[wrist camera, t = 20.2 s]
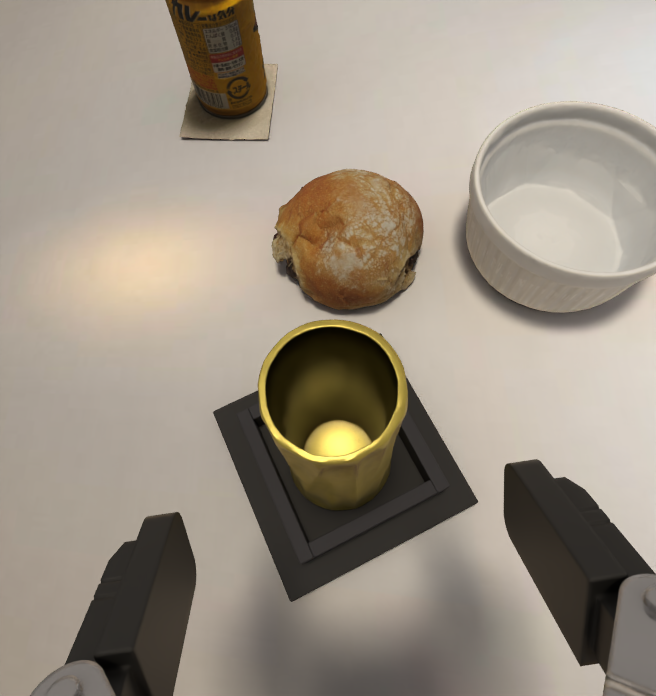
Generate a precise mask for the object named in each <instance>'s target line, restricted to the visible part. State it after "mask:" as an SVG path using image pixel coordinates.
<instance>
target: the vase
mask: <svg viewBox="0 0 656 696" xmlns="http://www.w3.org/2000/svg"><path fill="white" fill-rule="evenodd" d="M258 394H259V407H260V414H261V417H262V420H263V421H264V423H265V424H266V426H267V428H268V430H269V432H270V434H271V436H272V438H273V440H274V442H275V444H276V446H277V447H278V449H279V450H280V452H281V453H282V455H283V456H284V458H285V460H286V462H287V463H288V465H289V467H290V471H291V476H292V479H293V481H294V483H295V485H296V487H297V488H298V489H299V491H300V492H301V493H302V495H303V496H304V497H305V498H306V499H308V500H309V501H311V502H312V503H314V504H316V505H318V506H320V507H322V508H325V509H329V510H350V509H356V508H358V507H360V506H362V505H364V504H366V503H367V502H369V501H370V500H372V499H373V498H374V497H375V496H376V495H377V494H378V493H379V492H380V490H381V489H382V488H383V486H384V484H385V483H386V481H387V478H388V476H389V473H390V466H391V457H392V451H393V446H394V443H395V439H396V436H397V434H398V432H399V430H400V427H401V424H402V421H403V419H404V417H405V415H406V412H407V407H408V390H407V382H406V376H405V372H404V368H403V365H402V363H401V360H400V359H399V357H398V355H397V353H396V352H395V351H394V349H393V348H392V346H391V345H390V344H389V343H388V342H387V341H386V340H385V339H384V338H383V337H382V336H381V335H380V334H378V333H377V332H376V331H374V330H372V329H370V328H368V327H366V326H363V325H361V324H358V323H355V322H351V321H345V320H320V321H314V322H310V323H307V324H304V325H302V326H300V327H298V328H296V329H294V330H292V331H291V332H289V333H287V334H286V335H285V336H284V337H283V338H282V339H281V340H280V341H279V342H278V343H277V344H276V345H275V346H274V347H273V349H272V350H271V351H270V353H269V354H268V355H267V357H266V359H265V360H264V362H263V365H262V368H261V371H260V375H259V381H258Z"/></svg>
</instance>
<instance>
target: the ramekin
mask: <svg viewBox="0 0 656 696" xmlns="http://www.w3.org/2000/svg"><path fill="white" fill-rule="evenodd" d="M469 193H470V199H469V206H468V213H467V221H466V240H467V246H468V249H469V252H470V255H471V258H472V260H473V261H474V263H475V266H476V268H477V269H478V270H479V271H480V273H481V275H482V276H483V277H484V278H485V279H486V280H487V282H488V283H489V284H490V285H491V286H493V287H494V288H495V289H496V290H497V291H498V292H500V293H501V294H503V295H504V296H506V297H507V298H509V299H511V300H513V301H515V302H517V303H519V304H522V305H524V306H527V307H529V308H533V309H537V310H541V311H548V312H561V313H565V312H576V311H579V310H586V309H589V308H592V307H594V306H598V305H601V304H603V303H604V302H606V301H608V300H610V299H612V298H614V297H615V296H617V295H618V294H620V293H622V292H623V291H625V290H626V289H628V288H629V287H630V286H632V285H633V284H635V283H636V282H639V281H642V280H644V279H646V278H648V277H650V276H652V275H654V274H656V128H655V127H654V126H652V125H651V124H649V123H647V122H646V121H644V120H642V119H640V118H638V117H637V116H634V115H632V114H630V113H627V112H625V111H623V110H619V109H616V108H613V107H609V106H605V105H601V104H596V103H589V102H578V101H565V102H553V103H547V104H541V105H538V106H534V107H530V108H528V109H526V110H523V111H520V112H519V113H516V114H515V115H513V116H511V117H509V118H508V119H506V120H505V121H503V122H502V123H501V124H500V125H498V126H497V127H496V128H495V129H494V130H493V131H492V132H491V133H490V134H489V135H488V137H487V138H486V139H485V141H484V142H483V144H482V146H481V148H480V150H479V152H478V154H477V157H476V159H475V162H474V165H473V167H472V171H471V175H470V183H469Z"/></svg>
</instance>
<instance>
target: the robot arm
mask: <svg viewBox="0 0 656 696" xmlns="http://www.w3.org/2000/svg"><path fill="white" fill-rule="evenodd" d="M504 519H505V524H506V528H507V531H508V534H509V537H510V539H511V541H512V543H513V545H514V546H515V548H516V550H517V552H518V554H519V555H520V557H521V559H522V561H523V563H524V565H525V566H526V568H527V570H528V572H529V574H530V575H531V577H532V579H533V581H534V583H535V584H536V586H537V588H538V590H539V592H540V594H541V595H542V597H543V599H544V601H545V603H546V604H547V606H548V608H549V610H550V612H551V614H552V615H553V617H554V619H555V621H556V623H557V624H558V626H559V628H560V630H561V632H562V634H563V635H564V637H565V639H566V641H567V643H568V644H569V646H570V648H571V650H572V652H573V654H574V655H575V657H576V659H577V661H578V663H579V664H580V666H585V665H591V664H598V663H599V664H600V666H601V667H602V669H603V671H604V672H605V674H606V678H605V684H604V691H603V696H656V574H655V573H654V571H653V570H652V569H651V568H650V567H649V566H648V564H647V563H646V562H645V561H644V560H643V558H642V557H641V556H640V555H639V554H638V552H637V551H636V550H635V549H634V548H633V546H632V545H631V544H630V543H629V542H628V540H627V539H626V538H625V537H624V536H623V534H622V533H621V532H620V531H619V530H618V529H617V527H616V526H615V525H614V524H613V523H611V522H610V519H609V518H608V517H607V515H606V514H605V513H604V512H603V511H602V509H599V507H598V505H597V503H596V502H595V501H594V500H593V499H592V497H591V496H590V495H589V494H588V493H587V492H586V490H585V489H583V488H581V487H580V486H578V485H577V484H575V483H574V482H572V481H570V480H569V479H567V478H566V477H562V478H555V479H554V478H553V477H552V475H551V474H550V473H549V472H548V470H547V469H546V468H545V466H544V465H543V464H542V463H541V461H539V460H537V459H535V460H528V461H522V462H515V463H508V464H506V465H505V469H504ZM195 585H196V565H195V559H194V556H193V552H192V549H191V546H190V543H189V539H188V536H187V533H186V530H185V526H184V523H183V520H182V517H181V515H180V514H179V513H178V512H175V513H168V514H161V515H155V516H148V517H146V518H145V519H144V521H143V524H142V527H141V529H140V532H139V535H138V537H137V540H136V541H130V542H125V543H124V544H123V545H122V546H121V547H120V548H119V550H118V551H117V552H116V553H115V554H114V555H113V556H112V558H111V559H110V560H109V562H108V564H107V566H106V569H105V571H104V573H103V576H102V578H101V584H99V585H98V588H97V590H96V592H95V595H94V600H92V602H91V604H90V606H89V609H88V611H87V614H86V616H85V618H84V621H83V623H82V625H81V628H80V630H79V632H78V635H77V637H76V640H75V642H74V644H73V647H72V649H71V651H70V654H69V656H68V658H67V661H66V663H65V665H64V666H62V667H60V668H58V669H57V670H55V671H54V672H52V673H51V674H50V675H48V676H47V677H46V678H45V679H44V680H43V681H42V682H41V683H40V684H39V685H38V686H37V687H36V688H35V690H34V691H33V692H32V694H31V695H30V696H173V692H174V687H175V682H176V678H177V673H178V668H179V663H180V658H181V653H182V649H183V644H184V639H185V634H186V629H187V624H188V620H189V615H190V610H191V605H192V600H193V595H194V591H195Z"/></svg>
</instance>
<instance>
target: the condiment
mask: <svg viewBox="0 0 656 696" xmlns="http://www.w3.org/2000/svg"><path fill="white" fill-rule="evenodd" d="M166 3H167V6H168V9H169V12H170V15H171V18H172V21H173V24H174V27H175V30H176V33H177V36H178V39H179V42H180V45H181V49H182V51H183V54H184V58H185V61H186V64H187V67H188V70H189V73H190V77H191V80H192V83H191V89H190V93H189V97H188V102H187V104H186V110H185V115H184V120H183V124H182V127H181V132H180V137H190V138H203V139H204V138H209V139H230V140H234V139H249V140H253V139H268V136H269V128H270V119H271V111H272V105H273V98H274V90H275V82H276V75H277V64H264V62H263V56H262V50H261V43H260V35H259V33H258V25H257V21H256V16H255V10H254V4H253V0H166Z"/></svg>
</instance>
